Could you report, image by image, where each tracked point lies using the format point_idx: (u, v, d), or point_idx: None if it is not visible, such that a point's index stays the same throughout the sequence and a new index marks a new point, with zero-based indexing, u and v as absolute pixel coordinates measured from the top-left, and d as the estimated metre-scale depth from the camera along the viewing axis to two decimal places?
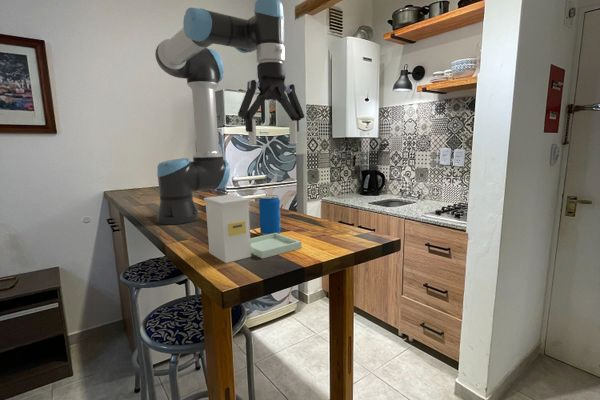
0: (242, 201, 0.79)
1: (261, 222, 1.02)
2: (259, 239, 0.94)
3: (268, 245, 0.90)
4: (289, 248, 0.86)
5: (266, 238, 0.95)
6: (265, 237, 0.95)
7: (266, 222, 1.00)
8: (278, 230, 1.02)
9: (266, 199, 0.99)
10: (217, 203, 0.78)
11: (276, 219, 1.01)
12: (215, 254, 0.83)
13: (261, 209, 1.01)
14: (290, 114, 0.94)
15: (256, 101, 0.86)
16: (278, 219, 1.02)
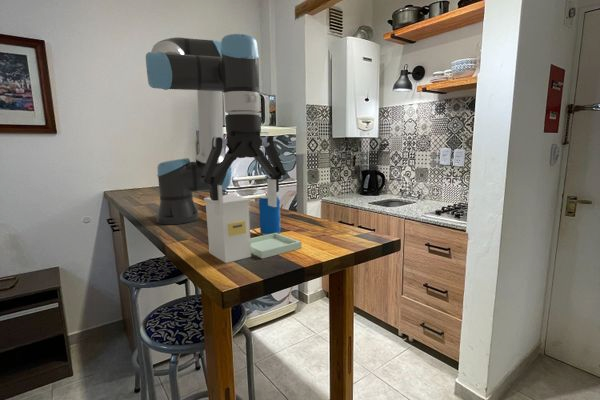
0: (242, 201, 0.79)
1: (261, 222, 1.02)
2: (259, 239, 0.94)
3: (268, 245, 0.90)
4: (289, 248, 0.86)
5: (266, 238, 0.95)
6: (265, 237, 0.95)
7: (266, 222, 1.00)
8: (278, 230, 1.02)
9: (266, 199, 0.99)
10: None
11: (276, 219, 1.01)
12: (215, 254, 0.83)
13: (261, 209, 1.01)
14: (268, 171, 0.77)
15: (223, 162, 0.69)
16: (278, 219, 1.02)
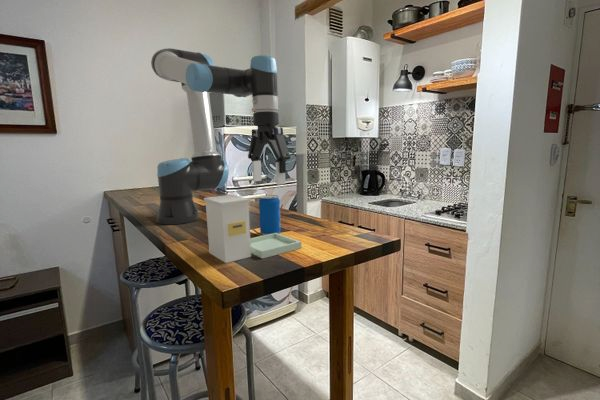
0: (242, 201, 0.79)
1: (261, 222, 1.02)
2: (259, 239, 0.94)
3: (268, 245, 0.90)
4: (289, 248, 0.86)
5: (266, 238, 0.95)
6: (265, 237, 0.95)
7: (266, 222, 1.00)
8: (278, 230, 1.02)
9: (266, 199, 0.99)
10: (217, 203, 0.78)
11: (276, 219, 1.01)
12: (215, 254, 0.83)
13: (261, 209, 1.01)
14: None
15: None
16: (278, 219, 1.02)
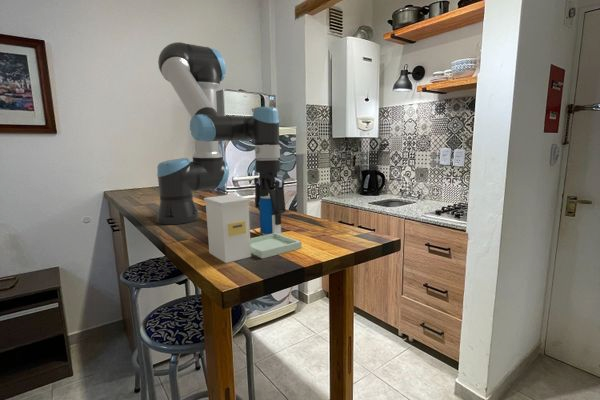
0: (242, 201, 0.79)
1: (261, 222, 1.02)
2: (259, 239, 0.94)
3: (268, 245, 0.90)
4: (289, 248, 0.86)
5: (266, 238, 0.95)
6: (265, 237, 0.95)
7: (266, 222, 1.00)
8: None
9: (266, 199, 0.99)
10: (217, 203, 0.78)
11: None
12: (215, 254, 0.83)
13: (261, 209, 1.01)
14: None
15: None
16: None
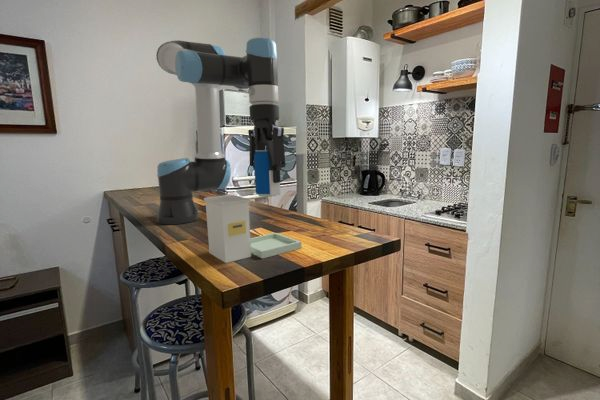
0: (242, 201, 0.79)
1: (256, 180, 0.85)
2: (259, 239, 0.94)
3: (268, 245, 0.90)
4: (289, 248, 0.86)
5: (266, 238, 0.95)
6: (265, 237, 0.95)
7: (263, 179, 0.84)
8: None
9: (262, 152, 0.83)
10: (217, 203, 0.78)
11: None
12: (215, 254, 0.83)
13: (256, 164, 0.84)
14: None
15: None
16: None
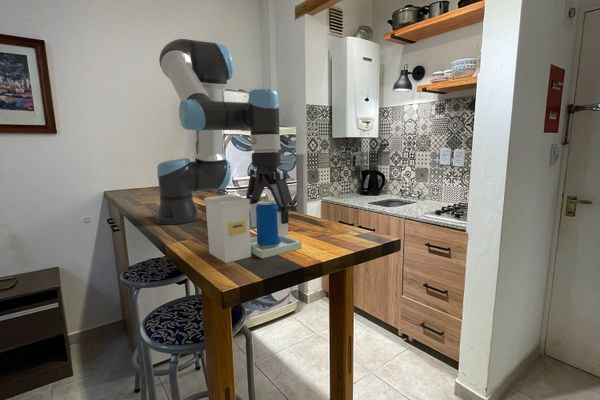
0: (242, 201, 0.79)
1: (258, 232, 0.88)
2: None
3: None
4: (289, 248, 0.86)
5: None
6: None
7: (264, 232, 0.86)
8: (278, 241, 0.88)
9: (264, 205, 0.85)
10: (217, 203, 0.78)
11: (275, 229, 0.87)
12: (215, 254, 0.83)
13: (258, 217, 0.87)
14: None
15: None
16: None
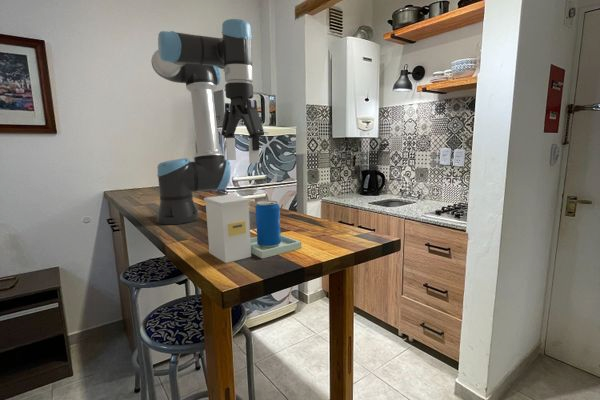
0: (242, 201, 0.79)
1: (258, 232, 0.87)
2: None
3: None
4: (289, 248, 0.86)
5: None
6: None
7: (264, 232, 0.86)
8: (278, 241, 0.88)
9: (263, 206, 0.85)
10: (217, 203, 0.78)
11: (275, 229, 0.87)
12: (215, 254, 0.83)
13: (258, 217, 0.86)
14: None
15: None
16: (278, 229, 0.88)
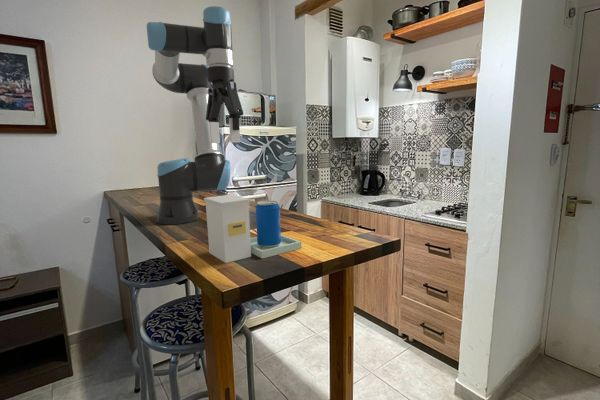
0: (242, 201, 0.79)
1: (258, 232, 0.88)
2: None
3: None
4: (289, 248, 0.86)
5: None
6: None
7: (264, 232, 0.86)
8: (278, 241, 0.88)
9: (264, 206, 0.85)
10: (217, 203, 0.78)
11: (275, 229, 0.87)
12: (215, 254, 0.83)
13: (258, 217, 0.87)
14: None
15: None
16: (278, 229, 0.88)
